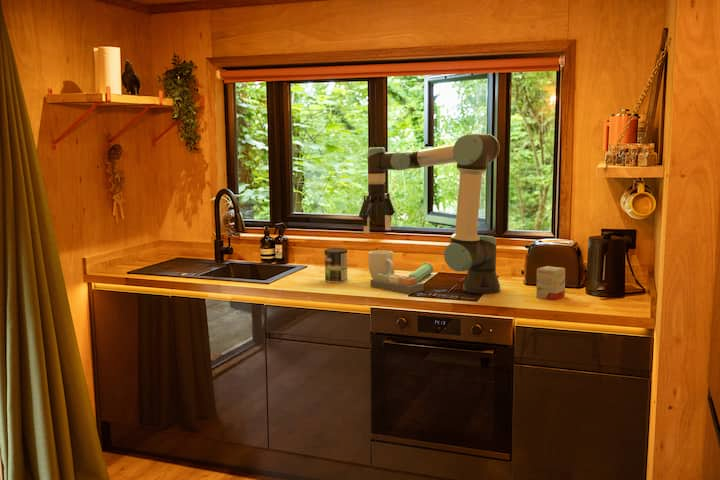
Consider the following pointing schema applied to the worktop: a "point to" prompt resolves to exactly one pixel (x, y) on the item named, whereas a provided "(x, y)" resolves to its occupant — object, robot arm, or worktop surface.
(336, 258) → the coffee can
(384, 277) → the tile sage
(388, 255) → the mug
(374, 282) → the socket board
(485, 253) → the robot arm
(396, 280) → the tile cream
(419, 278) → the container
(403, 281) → the tile terracotta
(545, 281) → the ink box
